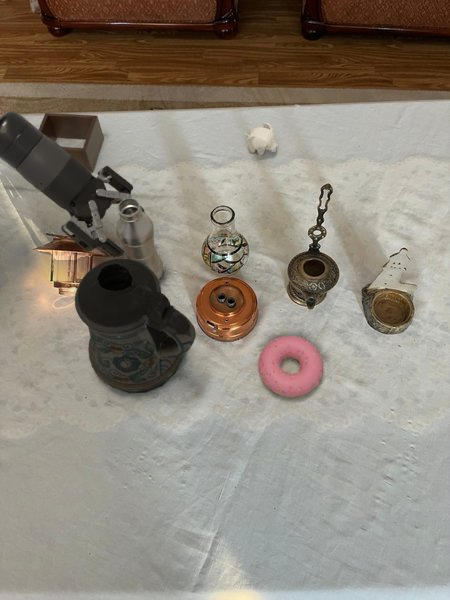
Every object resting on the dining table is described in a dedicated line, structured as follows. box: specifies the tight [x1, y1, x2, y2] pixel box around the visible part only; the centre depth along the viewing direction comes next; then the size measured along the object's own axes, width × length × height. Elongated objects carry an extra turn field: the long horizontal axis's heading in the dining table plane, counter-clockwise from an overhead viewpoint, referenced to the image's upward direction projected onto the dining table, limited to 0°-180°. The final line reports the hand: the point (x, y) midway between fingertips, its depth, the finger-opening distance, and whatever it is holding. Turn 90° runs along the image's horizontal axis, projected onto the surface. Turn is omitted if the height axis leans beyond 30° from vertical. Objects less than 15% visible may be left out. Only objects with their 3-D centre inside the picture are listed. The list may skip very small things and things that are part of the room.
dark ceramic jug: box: [74, 258, 197, 394], centre depth 82 cm, size 16×19×25 cm
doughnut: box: [257, 335, 324, 398], centre depth 88 cm, size 11×11×4 cm
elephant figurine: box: [244, 122, 279, 156], centre depth 114 cm, size 7×8×6 cm
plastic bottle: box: [115, 197, 164, 281], centre depth 92 cm, size 6×7×20 cm
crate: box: [38, 112, 105, 174], centre depth 114 cm, size 12×11×8 cm
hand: (132, 235), depth 90 cm, fingers open, 8 cm apart
